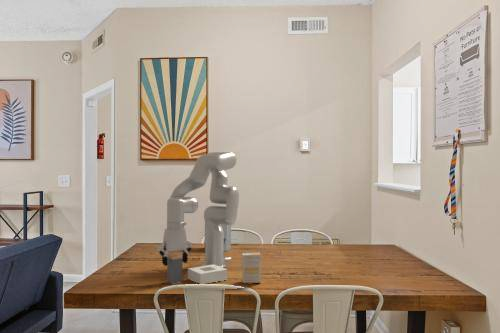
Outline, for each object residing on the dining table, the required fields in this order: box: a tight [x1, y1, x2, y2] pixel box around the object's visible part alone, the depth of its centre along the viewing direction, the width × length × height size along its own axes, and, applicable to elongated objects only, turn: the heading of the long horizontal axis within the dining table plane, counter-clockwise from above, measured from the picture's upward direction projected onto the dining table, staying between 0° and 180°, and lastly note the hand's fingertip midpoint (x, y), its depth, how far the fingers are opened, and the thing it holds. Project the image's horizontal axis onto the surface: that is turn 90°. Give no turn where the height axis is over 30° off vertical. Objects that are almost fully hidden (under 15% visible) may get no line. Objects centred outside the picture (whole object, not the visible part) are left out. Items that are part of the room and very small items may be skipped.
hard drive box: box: [204, 225, 232, 252], centre depth 257 cm, size 16×8×20 cm, turn 73°
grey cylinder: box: [166, 253, 183, 285], centre depth 182 cm, size 5×5×12 cm
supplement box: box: [241, 252, 262, 285], centre depth 183 cm, size 8×5×13 cm, turn 92°
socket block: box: [187, 264, 228, 285], centre depth 186 cm, size 14×12×5 cm
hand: (175, 263), depth 182 cm, fingers open, 9 cm apart
